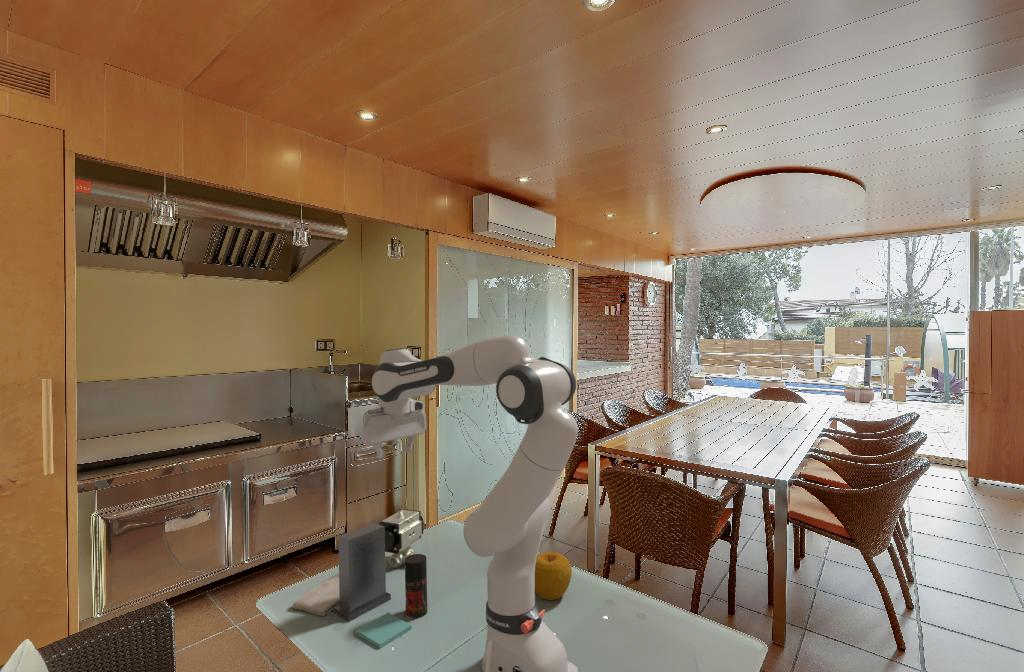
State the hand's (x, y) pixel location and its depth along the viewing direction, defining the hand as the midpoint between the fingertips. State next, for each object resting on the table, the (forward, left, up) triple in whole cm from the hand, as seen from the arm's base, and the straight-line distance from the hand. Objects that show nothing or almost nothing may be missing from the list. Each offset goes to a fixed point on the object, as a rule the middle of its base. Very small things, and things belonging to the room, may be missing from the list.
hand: (394, 454), depth 136 cm
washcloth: (+22, +7, -45) cm, 51 cm away
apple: (-30, -33, -44) cm, 63 cm away
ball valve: (+22, -20, -44) cm, 53 cm away
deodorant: (-5, -3, -44) cm, 45 cm away
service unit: (+10, +4, -44) cm, 45 cm away
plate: (-5, +8, -44) cm, 45 cm away
